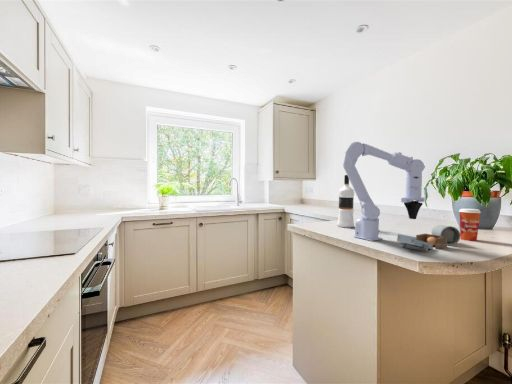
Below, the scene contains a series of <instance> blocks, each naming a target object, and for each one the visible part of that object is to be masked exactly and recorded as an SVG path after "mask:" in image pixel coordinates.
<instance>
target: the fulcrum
mask: <svg viewBox="0 0 512 384" xmlns="http://www.w3.org/2000/svg"><path fill="white" fill-rule="evenodd" d="M402 248H406V249H409V250H414V251H419V252H423V253H428V252H429V248H428V245H424V248H423V247H418V246H414V245H409V244H406V243H402Z"/></svg>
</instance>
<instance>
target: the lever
mask: <svg viewBox="0 0 512 384" xmlns="http://www.w3.org/2000/svg"><path fill="white" fill-rule="evenodd" d="M396 242H398V243H402V244H403V243H406V244H409V245H414V246H418V247H423V248H424V245H428V250H434V247H433V244H431V243H427V242H423V241H419V240H416V236H411V235H406V234H400V233H398V234H397V238H396Z"/></svg>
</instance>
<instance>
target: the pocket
mask: <svg viewBox="0 0 512 384" xmlns="http://www.w3.org/2000/svg"><path fill="white" fill-rule="evenodd" d="M415 237H416V240H419V241H423V242H427V239H428V238H429V237H434V238H435V246H434V249H436V250H440V249H445V248H447V247H448V244H447V237H443V236H437V235H432V233H419V234H416V236H415Z"/></svg>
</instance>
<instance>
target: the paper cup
mask: <svg viewBox="0 0 512 384" xmlns="http://www.w3.org/2000/svg"><path fill="white" fill-rule="evenodd" d="M458 212H459V232H460V240H463V241H468V242H476V241H478V233H479V226H480V225H479V224H480V217H481V216H480V215H481V213H482V211H481V210H480V209H477V208H460V209H459V210H458Z"/></svg>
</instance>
